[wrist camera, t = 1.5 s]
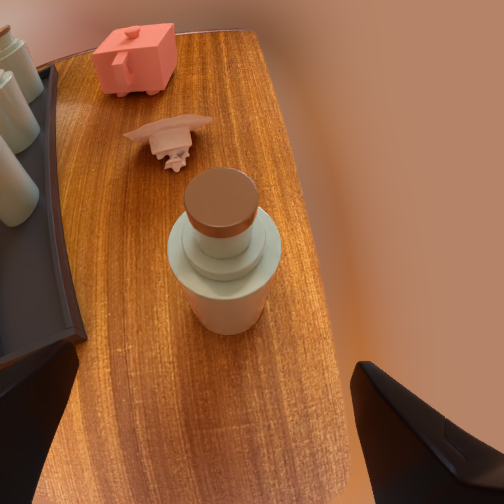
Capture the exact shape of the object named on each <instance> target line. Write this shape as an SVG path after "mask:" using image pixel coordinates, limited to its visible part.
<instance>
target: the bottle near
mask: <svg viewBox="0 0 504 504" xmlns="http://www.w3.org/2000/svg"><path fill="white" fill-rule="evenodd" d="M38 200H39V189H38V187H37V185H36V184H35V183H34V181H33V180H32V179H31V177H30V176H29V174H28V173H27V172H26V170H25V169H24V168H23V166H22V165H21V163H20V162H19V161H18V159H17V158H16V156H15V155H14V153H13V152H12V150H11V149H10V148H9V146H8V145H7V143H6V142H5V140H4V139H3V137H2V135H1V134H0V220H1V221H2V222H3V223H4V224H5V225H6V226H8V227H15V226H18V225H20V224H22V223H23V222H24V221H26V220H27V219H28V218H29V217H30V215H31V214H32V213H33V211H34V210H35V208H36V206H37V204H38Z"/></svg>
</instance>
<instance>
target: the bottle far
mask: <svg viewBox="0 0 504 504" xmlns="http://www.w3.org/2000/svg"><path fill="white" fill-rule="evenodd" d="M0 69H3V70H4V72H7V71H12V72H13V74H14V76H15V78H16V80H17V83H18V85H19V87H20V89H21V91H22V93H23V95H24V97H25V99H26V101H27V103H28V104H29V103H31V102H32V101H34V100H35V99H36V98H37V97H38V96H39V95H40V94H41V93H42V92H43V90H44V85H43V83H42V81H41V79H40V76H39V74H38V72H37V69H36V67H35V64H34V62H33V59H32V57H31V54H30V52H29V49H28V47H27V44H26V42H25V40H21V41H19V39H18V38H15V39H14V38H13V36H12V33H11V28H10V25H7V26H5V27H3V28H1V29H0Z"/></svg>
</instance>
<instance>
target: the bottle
mask: <svg viewBox="0 0 504 504" xmlns="http://www.w3.org/2000/svg"><path fill="white" fill-rule="evenodd" d="M258 203H259V193H258V189H257V187H256V185H255V183H254V182H253V180H252V179H251V178H250V177H249V176H248V175H246V174H245V173H243V172H241V171H239V170H237V169H233V168H228V167H217V168H211V169H208V170H205V171H203V172H201V173H200V174H198V175H197V176H195V177H194V178H193V179H192V180H191V182H190V183H189V184H188V186H187V188H186V190H185V194H184V205H185V209H186V211H185V212H184V213H183V214H182V215H181V216H180V217H179V218H178V220H177V221H176V222H175V224H174V226H173V228H172V230H171V232H170V235H169V239H168V245H167V254H168V260H169V264H170V266H171V269H172V271H173V273H174V275H175V277H176V279H177V281H178V283H179V285H180V287H181V289H182V291H183V293H184V295H185V297H186V299H187V301H188V303H189V304H190V306H191V308H192V310H193V312H194V314H195V316H196V317H197V319H198V320H199V322H200V323H201V324H202V325H203V326H204V327H205V328H207V329H208V330H210V331H212V332H214V333H217V334H221V335H235V334H239V333H242V332H244V331H246V330H248V329H249V328H251V327H252V326H253V325H254V324H255V323H256V322H257V320H258V319H259V317H260V316H261V314H262V311H263V308H264V305H265V302H266V300H267V297H268V294H269V291H270V288H271V285H272V282H273V279H274V277H275V274H276V271H277V268H278V265H279V262H280V258H281V250H282V245H281V238H280V234H279V231H278V229H277V227H276V225H275V223H274V221H273V220H272V219H271V217H270V216H269V215H268V214H267V213H266V212H265V211H264V210H262V209H261V208H260V207H258Z"/></svg>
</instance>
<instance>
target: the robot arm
mask: <svg viewBox="0 0 504 504" xmlns="http://www.w3.org/2000/svg"><path fill="white" fill-rule="evenodd" d="M78 368H79V359H78V356H77V353H76V349H75V346H74V343H73V342H72V341H70V340H66V339H60V340H58V341H56V342H54V343H52V344H50V345H48V346H46V347H44V348H42V349H40V350H38V351H36V352H35V353H33V354H31V355H29V356H27V357H25V358H23V359H21V360H19V361H17V362H15V363H13V364H11V365H9V366H7V367H5V368H3V369H1V370H0V504H32V502H31V501H32V500H33V497H34V494H35V490H36V487H37V484H38V481H39V478H40V475H41V472H42V469H43V466H44V463H45V460H46V457H47V454H48V452H49V449H50V446H51V443H52V441H53V438H54V435H55V433H56V430H57V428H58V425H59V423H60V420H61V418H62V415H63V413H64V410H65V408H66V405H67V403H68V400H69V396H70V393H71V390H72V386H73V383H74V380H75V377H76V374H77V371H78ZM350 390H351V396H352V402H353V408H354V416H355V423H356V428H357V431H358V436H359V440H360V443H361V447H362V451H363V454H364V458H365V462H366V466H367V470H368V474H369V478H370V482H371V486H372V490H373V495H374V499H375V503H376V504H504V454H503V453H501V452H499V451H498V450H496V449H494V448H492V447H491V446H489V445H487V444H485V443H484V442H482V441H480V440H478V439H477V438H475V437H473V436H472V435H470V434H469V433H467V432H465V431H464V430H463V429H461V428H460V427H458V426H457V425H455V424H454V423H453V422H451V421H450V420H448V419H447V418H446V419H445V417H444V416H443V415H441V414H440V413H439V412H438V411H436V410H435V409H433V408H432V407H431V406H429V405H428V404H427V403H425V402H424V401H423V400H421V399H420V398H418V397H417V396H416V395H415V394H413V393H412V392H410V391H409V390H408V389H407V388H405V387H404V386H403V385H401V384H400V383H399V382H397V381H396V380H395V379H393V378H392V377H390V376H389V375H388V374H387V373H385V372H384V371H383V370H381V369H380V368H379V367H377V366H376V365H375V364H373V363H372V362H370V361H359V362H358V363H357V364H356V366H355V369H354V372H353V375H352V378H351V381H350Z"/></svg>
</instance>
